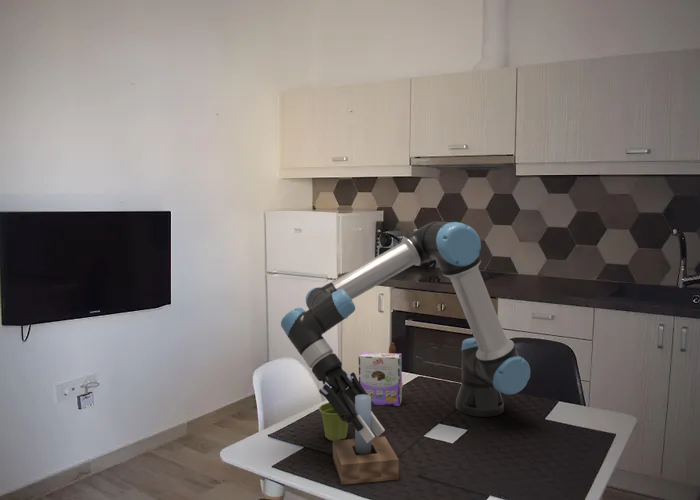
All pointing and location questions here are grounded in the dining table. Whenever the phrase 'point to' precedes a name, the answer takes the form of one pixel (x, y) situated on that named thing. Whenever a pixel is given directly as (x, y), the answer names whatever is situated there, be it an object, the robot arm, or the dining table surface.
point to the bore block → (365, 462)
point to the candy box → (381, 377)
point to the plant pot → (333, 423)
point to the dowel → (365, 412)
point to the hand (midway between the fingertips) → (376, 436)
